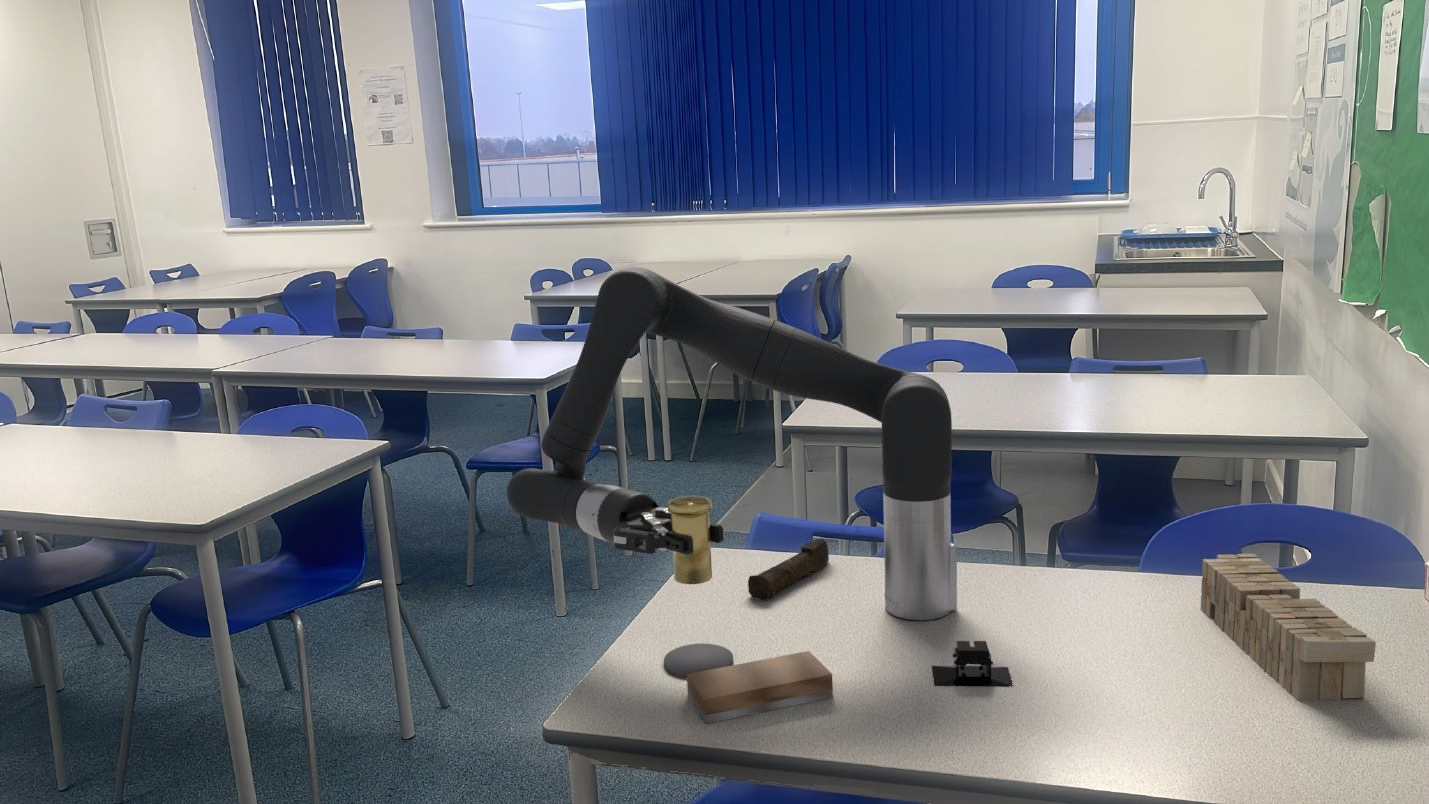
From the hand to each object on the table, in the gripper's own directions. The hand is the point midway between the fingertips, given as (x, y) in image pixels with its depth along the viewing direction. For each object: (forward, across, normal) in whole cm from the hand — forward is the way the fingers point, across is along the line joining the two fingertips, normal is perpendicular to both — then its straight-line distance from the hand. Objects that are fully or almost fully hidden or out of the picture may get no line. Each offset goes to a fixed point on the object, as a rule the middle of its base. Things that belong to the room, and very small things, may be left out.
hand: (706, 540), depth 133 cm
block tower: (+52, +48, +17) cm, 73 cm away
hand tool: (-12, +30, +18) cm, 37 cm away
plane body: (+10, -2, +17) cm, 20 cm away
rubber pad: (-2, 0, +17) cm, 17 cm away
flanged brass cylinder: (-3, 0, +6) cm, 6 cm away
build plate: (+27, +18, +18) cm, 37 cm away
